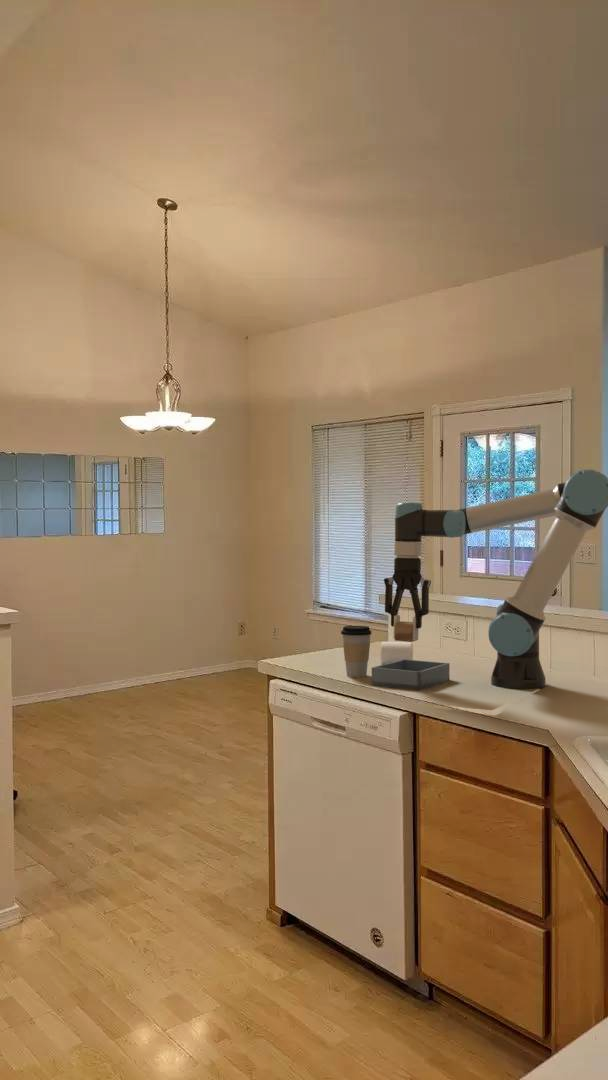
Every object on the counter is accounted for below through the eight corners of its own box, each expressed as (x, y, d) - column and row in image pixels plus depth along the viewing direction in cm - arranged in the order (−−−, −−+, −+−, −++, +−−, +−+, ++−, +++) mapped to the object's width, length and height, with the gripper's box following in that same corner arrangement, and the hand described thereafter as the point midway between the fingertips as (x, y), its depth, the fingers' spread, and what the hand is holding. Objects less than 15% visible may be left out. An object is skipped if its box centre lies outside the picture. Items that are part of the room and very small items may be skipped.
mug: (411, 668, 274) (411, 643, 274) (380, 667, 276) (380, 643, 276) (414, 663, 286) (414, 639, 286) (384, 662, 288) (384, 638, 288)
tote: (449, 680, 252) (449, 663, 252) (419, 690, 235) (419, 672, 235) (403, 675, 260) (403, 659, 260) (371, 685, 244) (371, 667, 244)
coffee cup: (370, 679, 254) (370, 628, 254) (339, 678, 255) (339, 628, 255) (373, 674, 263) (373, 625, 263) (342, 673, 265) (342, 625, 265)
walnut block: (411, 642, 239) (411, 624, 239) (394, 640, 241) (395, 622, 241) (417, 640, 243) (418, 622, 243) (401, 638, 246) (401, 621, 246)
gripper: (442, 557, 241) (440, 640, 241) (383, 555, 249) (382, 635, 250) (433, 558, 234) (431, 643, 234) (373, 556, 243) (371, 637, 243)
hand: (405, 638), depth 242 cm, fingers closed on walnut block, 5 cm apart
